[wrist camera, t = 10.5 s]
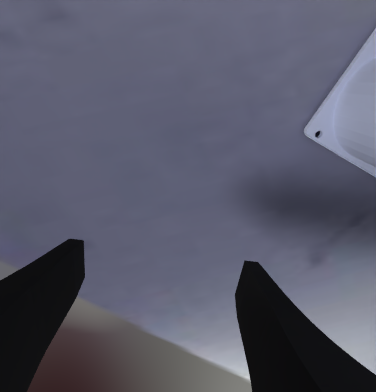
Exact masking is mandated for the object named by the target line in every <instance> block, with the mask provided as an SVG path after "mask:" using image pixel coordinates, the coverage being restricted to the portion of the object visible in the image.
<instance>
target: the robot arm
mask: <svg viewBox="0 0 376 392" xmlns="http://www.w3.org/2000/svg"><path fill="white" fill-rule="evenodd" d="M317 131H320V135H319V136H318V137H315V133H316V132H317ZM304 134H305V135H306V136H307V137H308V138H310V139H312V140H313V141H315V142H317V143H319V144H320V145H322V146H324V147H325V148H327V149H329V150H330V151H332V152H334V153H335V154H337V155H339V156H340V157H342V158H344V159H345V160H347V161H349V162H350V163H352V164H354V165H355V166H357V167H359V168H360V169H362V170H364V171H366V172H367V173H369V174H371V175H372V176H374V177H376V28H375V30H374V31H373V33H372V34H371V35H370V37H369V38H368V40H367V41H366V42H365V44H364V45H363V47H362V48H361V49H360V51H359V52H358V54H357V55H356V56H355V58H354V59H353V61H352V62H351V63H350V65H349V66H348V68H347V69H346V71H345V72H344V73H343V75H342V76H341V78H340V79H339V80H338V82H337V83H336V85H335V86H334V87H333V89H332V90H331V92H330V93H329V94H328V96H327V97H326V99H325V100H324V101H323V103H322V104H321V106H320V107H319V109H318V110H317V111H316V113H315V114H314V116H313V117H312V118H311V120H310V121H309V123H308V124H307V125H306V127H305V129H304ZM84 278H85V266H84V240H76V239H68V240H67V241H65V242H63V243H62V244H60V245H59V246H57V247H55V248H54V249H52V250H51V251H49V252H48V253H46V254H45V255H43V256H41V257H40V258H38V259H37V260H35V261H33V262H32V263H30V264H28V265H27V266H25V267H23V268H22V269H20V270H18V271H16V272H15V273H13V274H11V275H9V276H8V277H6V278H4V279H2V280H0V392H27V390H28V388H29V385H30V383H31V381H32V379H33V377H34V374H35V373H36V370H37V368H38V366H39V364H40V362H41V360H42V358H43V356H44V354H45V352H46V350H47V348H48V346H49V345H50V343H51V341H52V339H53V338H54V336H55V334H56V332H57V330H58V328H59V327H60V325H61V323H62V322H63V320H64V318H65V317H66V315H67V313H68V311H69V310H70V308H71V306H72V304H73V303H74V301H75V299H76V297H77V295H78V292H79V290H80V288H81V285H82V283H83V280H84ZM235 300H236V311H237V319H238V323H239V328H240V333H241V337H242V342H243V346H244V351H245V355H246V360H247V364H248V369H249V374H250V380H251V386H252V392H376V375H375V374H374V373H372V372H371V371H370V370H368V369H367V368H366V367H364V366H363V365H362V364H360V363H359V362H358V361H356V360H355V359H354V358H353V357H351V356H350V355H349V354H348V353H346V352H345V351H344V350H343V349H341V348H340V347H339V346H338V345H336V344H335V343H334V342H333V341H332V340H331V339H329V338H328V337H327V336H326V335H325V334H324V333H323V332H322V331H321V330H320V329H318V328H317V327H316V326H315V325H314V324H313V323H312V322H311V321H310V320H309V319H308V318H307V317H306V316H305V315H304V314H303V313H302V312H301V311H300V310H299V309H298V308H297V307H296V306H295V305H294V304H293V302H292V301H291V300H290V299H289V298H288V297H287V296H286V295H285V294H284V292H283V291H282V290H281V289H280V288H279V287H278V285H277V284H276V283H275V282H274V281H273V279H272V278H271V277H270V276H269V275H268V273H267V272H266V271H265V270H264V269H263V267H262V266H261V265H260V264H259V263H258V262H253V261H244V265H243V268H242V272H241V275H240V279H239V282H238V286H237V289H236V293H235Z"/></svg>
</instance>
